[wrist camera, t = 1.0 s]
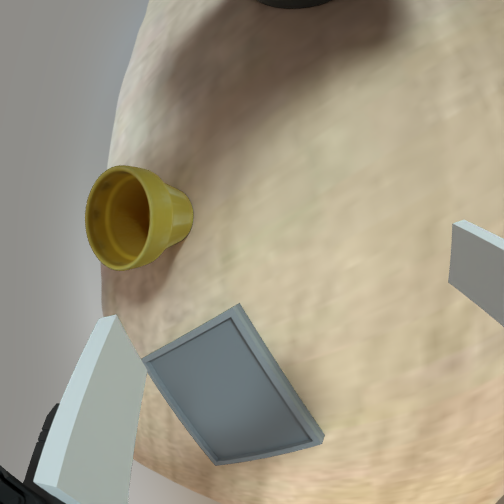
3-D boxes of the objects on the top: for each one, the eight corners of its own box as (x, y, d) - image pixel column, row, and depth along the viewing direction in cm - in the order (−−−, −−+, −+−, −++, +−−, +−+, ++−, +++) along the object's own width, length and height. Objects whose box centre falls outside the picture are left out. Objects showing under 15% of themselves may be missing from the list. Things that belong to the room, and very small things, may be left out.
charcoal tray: (147, 355, 40) (139, 359, 38) (239, 303, 33) (232, 307, 31) (220, 458, 38) (215, 465, 36) (324, 435, 31) (321, 443, 29)
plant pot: (209, 261, 34) (153, 276, 25) (142, 256, 38) (85, 267, 29) (209, 171, 33) (153, 157, 24) (142, 178, 37) (84, 172, 28)
